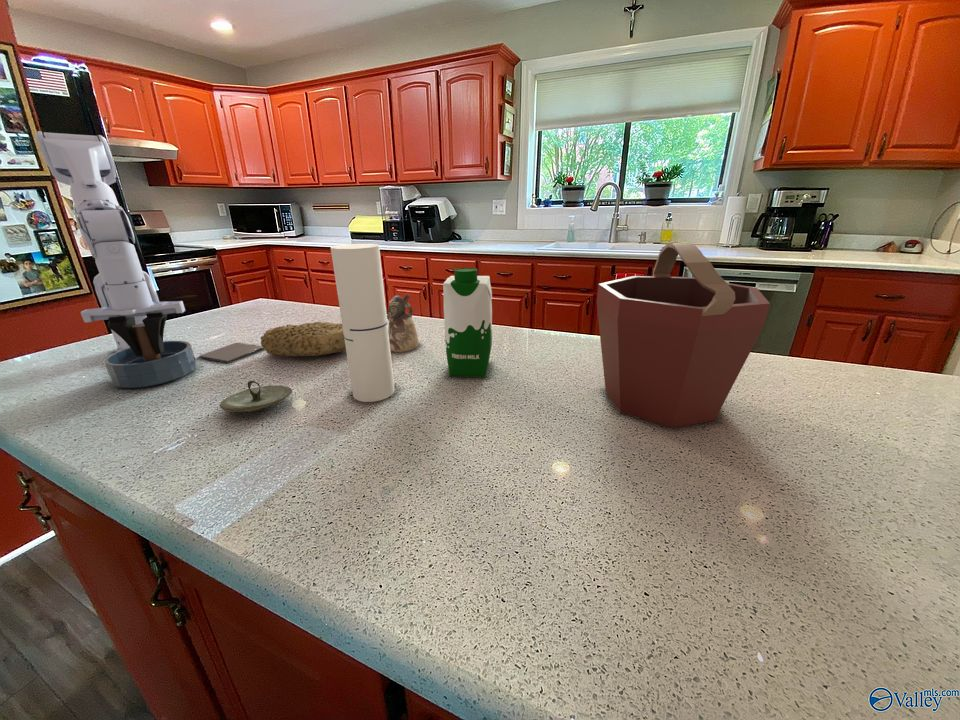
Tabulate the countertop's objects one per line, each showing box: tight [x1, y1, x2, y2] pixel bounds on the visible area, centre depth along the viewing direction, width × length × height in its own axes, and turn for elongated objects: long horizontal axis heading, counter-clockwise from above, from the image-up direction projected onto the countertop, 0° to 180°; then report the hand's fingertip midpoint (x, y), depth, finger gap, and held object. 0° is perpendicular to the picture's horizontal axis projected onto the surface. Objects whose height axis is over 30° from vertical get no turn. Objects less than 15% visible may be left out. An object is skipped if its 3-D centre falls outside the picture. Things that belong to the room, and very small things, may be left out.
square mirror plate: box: [199, 342, 265, 364], centre depth 89 cm, size 9×9×1 cm
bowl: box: [103, 340, 198, 388], centre depth 77 cm, size 13×13×5 cm
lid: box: [219, 380, 293, 413], centre depth 65 cm, size 11×10×5 cm
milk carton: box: [442, 267, 493, 378], centre depth 75 cm, size 9×9×20 cm
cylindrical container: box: [330, 243, 395, 403], centre depth 65 cm, size 7×7×25 cm
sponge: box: [260, 321, 346, 357], centre depth 87 cm, size 13×8×20 cm
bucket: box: [596, 242, 771, 429], centre depth 61 cm, size 24×22×25 cm
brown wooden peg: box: [132, 323, 161, 362], centre depth 75 cm, size 3×3×9 cm
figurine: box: [386, 293, 419, 353], centre depth 89 cm, size 7×7×12 cm
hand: (150, 353), depth 75 cm, fingers closed on brown wooden peg, 2 cm apart
